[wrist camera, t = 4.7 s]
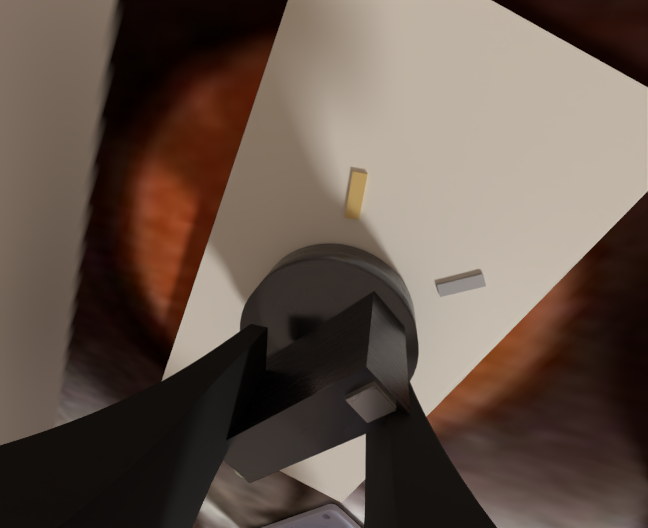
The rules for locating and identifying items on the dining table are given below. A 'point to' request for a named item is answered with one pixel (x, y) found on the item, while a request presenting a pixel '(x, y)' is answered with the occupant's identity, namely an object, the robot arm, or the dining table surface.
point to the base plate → (422, 176)
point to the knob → (324, 357)
